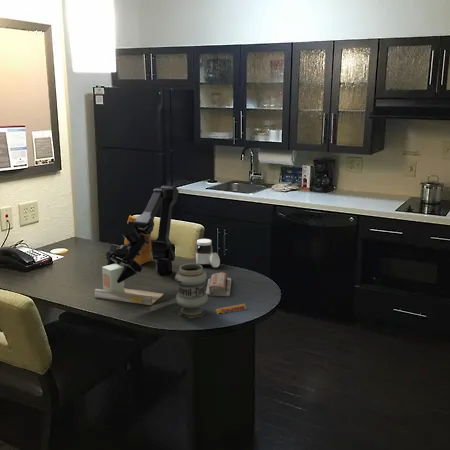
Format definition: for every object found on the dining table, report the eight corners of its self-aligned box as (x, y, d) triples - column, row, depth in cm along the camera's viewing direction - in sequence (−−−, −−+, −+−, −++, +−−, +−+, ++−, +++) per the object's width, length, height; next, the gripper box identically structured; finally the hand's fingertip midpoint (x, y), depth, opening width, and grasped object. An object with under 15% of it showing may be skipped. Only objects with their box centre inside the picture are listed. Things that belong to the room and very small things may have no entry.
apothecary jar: (168, 314, 194) (167, 268, 189) (187, 303, 204) (187, 259, 199) (195, 322, 188) (195, 274, 183) (214, 310, 198) (214, 265, 193)
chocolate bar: (246, 310, 199) (246, 304, 199) (217, 315, 194) (217, 310, 194) (243, 307, 202) (243, 302, 201) (214, 313, 196) (214, 307, 196)
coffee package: (136, 256, 261) (135, 213, 255) (154, 261, 253) (153, 217, 248) (121, 261, 253) (119, 216, 247) (139, 266, 246) (137, 220, 240)
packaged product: (230, 286, 210) (205, 285, 211) (229, 297, 211) (205, 296, 212) (231, 270, 228) (208, 270, 228) (231, 281, 229) (208, 281, 229)
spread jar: (197, 260, 254) (196, 237, 252) (220, 261, 254) (220, 238, 251) (194, 269, 243) (194, 244, 240) (219, 269, 243) (219, 245, 240)
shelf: (110, 289, 217) (110, 279, 216) (164, 297, 210) (163, 286, 209) (94, 300, 206) (94, 290, 205) (150, 309, 199) (150, 297, 197)
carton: (116, 289, 214) (115, 263, 211) (124, 293, 210) (123, 267, 207) (103, 293, 210) (101, 266, 207) (111, 297, 205) (109, 270, 203)
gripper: (108, 231, 213) (85, 263, 209) (134, 241, 200) (111, 275, 196) (125, 246, 221) (103, 277, 216) (152, 256, 208) (129, 289, 203)
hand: (111, 279), depth 207 cm, fingers open, 9 cm apart
